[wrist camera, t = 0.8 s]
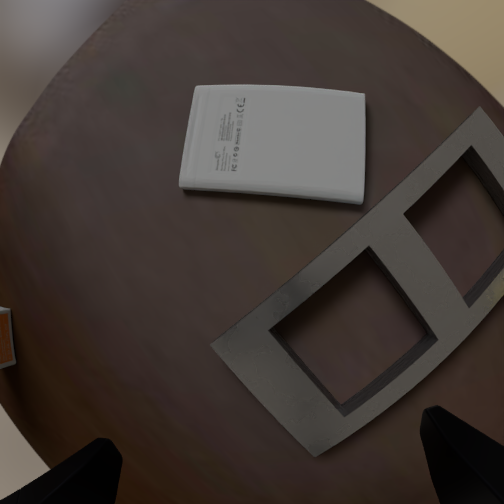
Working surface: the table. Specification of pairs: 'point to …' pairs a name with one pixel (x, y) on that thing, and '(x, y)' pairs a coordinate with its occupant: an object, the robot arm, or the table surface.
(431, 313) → the grey flat frame
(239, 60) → the table surface
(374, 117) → the table surface
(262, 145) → the external hard drive
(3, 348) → the skincare box
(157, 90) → the table surface
